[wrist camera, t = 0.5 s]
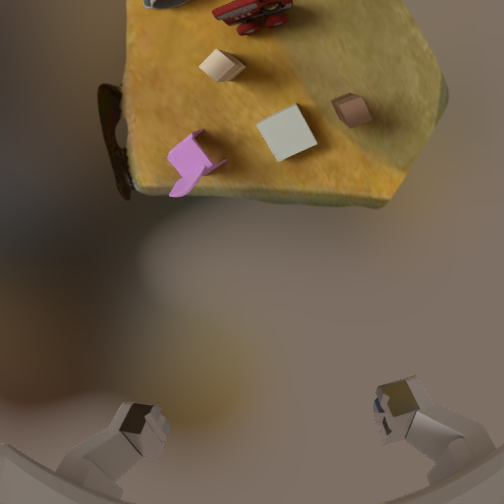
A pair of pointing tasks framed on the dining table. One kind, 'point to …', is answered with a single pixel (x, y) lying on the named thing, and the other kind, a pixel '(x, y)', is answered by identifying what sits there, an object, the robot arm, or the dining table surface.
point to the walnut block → (351, 110)
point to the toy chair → (190, 164)
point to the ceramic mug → (163, 3)
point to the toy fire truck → (252, 14)
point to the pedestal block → (286, 132)
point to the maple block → (222, 66)
